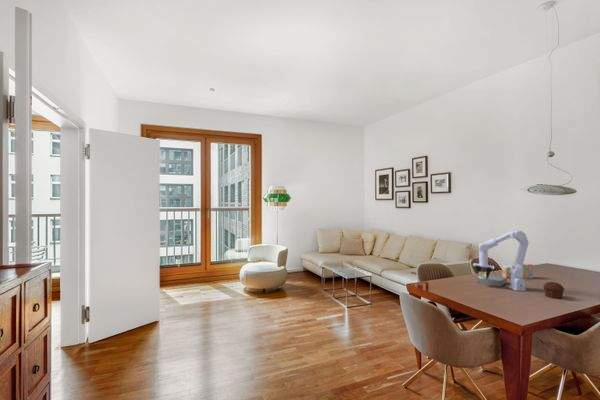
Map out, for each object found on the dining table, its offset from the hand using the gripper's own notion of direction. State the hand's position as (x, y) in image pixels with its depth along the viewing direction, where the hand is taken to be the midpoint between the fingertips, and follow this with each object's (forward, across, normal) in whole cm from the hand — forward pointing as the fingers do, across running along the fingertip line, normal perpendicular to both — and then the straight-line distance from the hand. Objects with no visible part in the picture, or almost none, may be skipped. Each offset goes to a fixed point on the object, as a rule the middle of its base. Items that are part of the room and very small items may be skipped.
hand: (483, 276), depth 236 cm
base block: (+7, 0, -16) cm, 17 cm away
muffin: (+8, -41, -7) cm, 43 cm away
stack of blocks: (+8, -9, -50) cm, 51 cm away
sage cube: (+2, 0, 0) cm, 2 cm away
